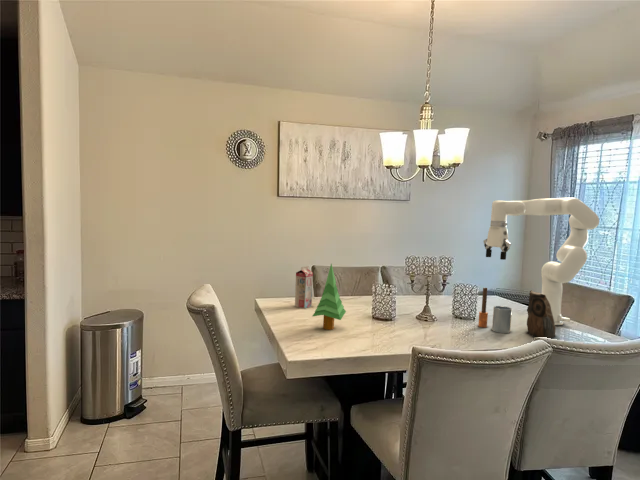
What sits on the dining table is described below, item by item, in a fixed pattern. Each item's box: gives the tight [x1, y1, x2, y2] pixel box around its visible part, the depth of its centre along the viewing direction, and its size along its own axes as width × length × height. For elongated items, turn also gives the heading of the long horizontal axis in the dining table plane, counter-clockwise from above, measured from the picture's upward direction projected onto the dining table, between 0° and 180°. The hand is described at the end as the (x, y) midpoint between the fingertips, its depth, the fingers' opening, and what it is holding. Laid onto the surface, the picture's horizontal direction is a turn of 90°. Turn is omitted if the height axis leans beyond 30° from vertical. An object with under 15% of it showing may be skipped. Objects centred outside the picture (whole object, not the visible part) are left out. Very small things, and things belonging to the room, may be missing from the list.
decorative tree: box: [312, 263, 347, 331], centre depth 204 cm, size 14×16×30 cm
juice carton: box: [294, 265, 314, 309], centre depth 247 cm, size 7×7×22 cm
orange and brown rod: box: [477, 287, 489, 328], centre depth 220 cm, size 4×4×19 cm
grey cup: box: [491, 305, 513, 334], centre depth 213 cm, size 8×8×11 cm
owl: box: [526, 290, 556, 339], centre depth 207 cm, size 13×13×20 cm
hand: (495, 258), depth 230 cm, fingers open, 9 cm apart
